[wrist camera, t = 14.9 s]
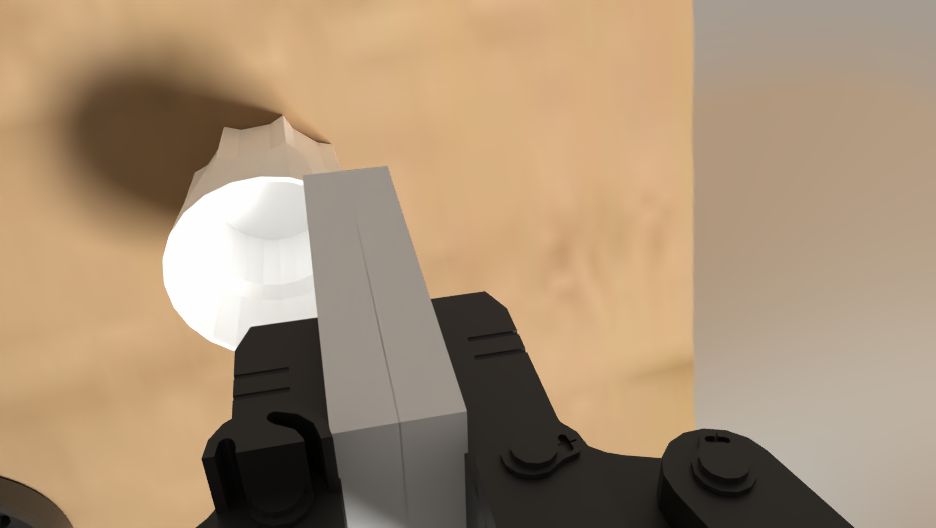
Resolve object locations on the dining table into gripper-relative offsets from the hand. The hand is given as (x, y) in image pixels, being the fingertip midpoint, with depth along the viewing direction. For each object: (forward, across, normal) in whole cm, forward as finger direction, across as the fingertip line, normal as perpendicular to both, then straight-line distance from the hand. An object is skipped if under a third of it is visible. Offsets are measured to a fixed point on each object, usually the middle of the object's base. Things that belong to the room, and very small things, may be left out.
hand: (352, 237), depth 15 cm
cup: (+31, -3, -13) cm, 33 cm away
